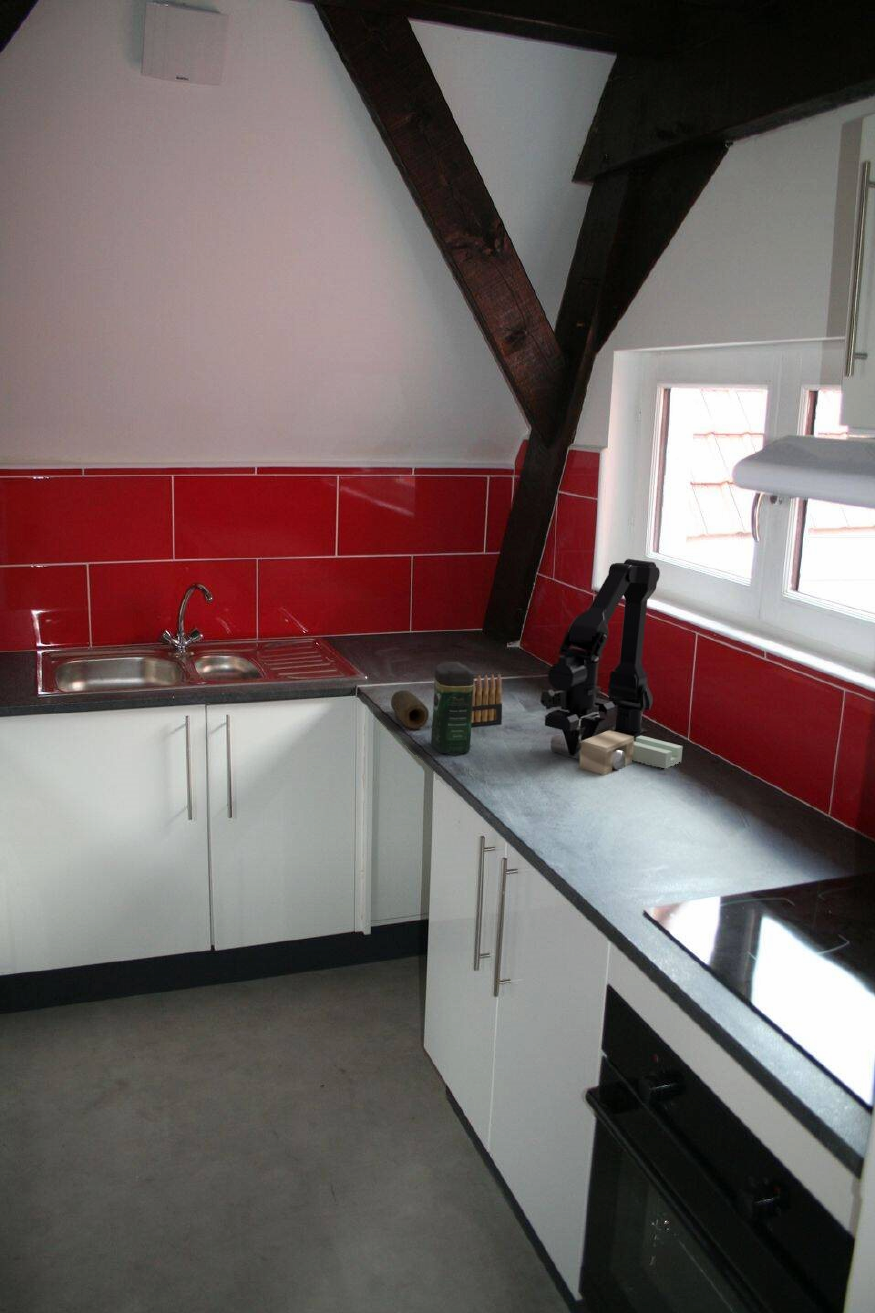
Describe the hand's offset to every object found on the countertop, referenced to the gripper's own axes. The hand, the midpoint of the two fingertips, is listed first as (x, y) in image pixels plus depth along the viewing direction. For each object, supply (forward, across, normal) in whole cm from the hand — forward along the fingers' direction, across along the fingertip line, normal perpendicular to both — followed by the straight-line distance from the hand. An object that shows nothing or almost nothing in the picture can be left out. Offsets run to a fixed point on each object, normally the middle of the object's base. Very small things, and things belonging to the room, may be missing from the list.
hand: (577, 752), depth 233 cm
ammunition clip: (+1, -3, -28) cm, 28 cm away
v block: (+1, -10, +12) cm, 16 cm away
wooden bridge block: (+1, 0, +7) cm, 7 cm away
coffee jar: (+1, +15, -22) cm, 27 cm away
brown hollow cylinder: (+1, +7, -41) cm, 42 cm away
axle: (+1, 0, +2) cm, 3 cm away
